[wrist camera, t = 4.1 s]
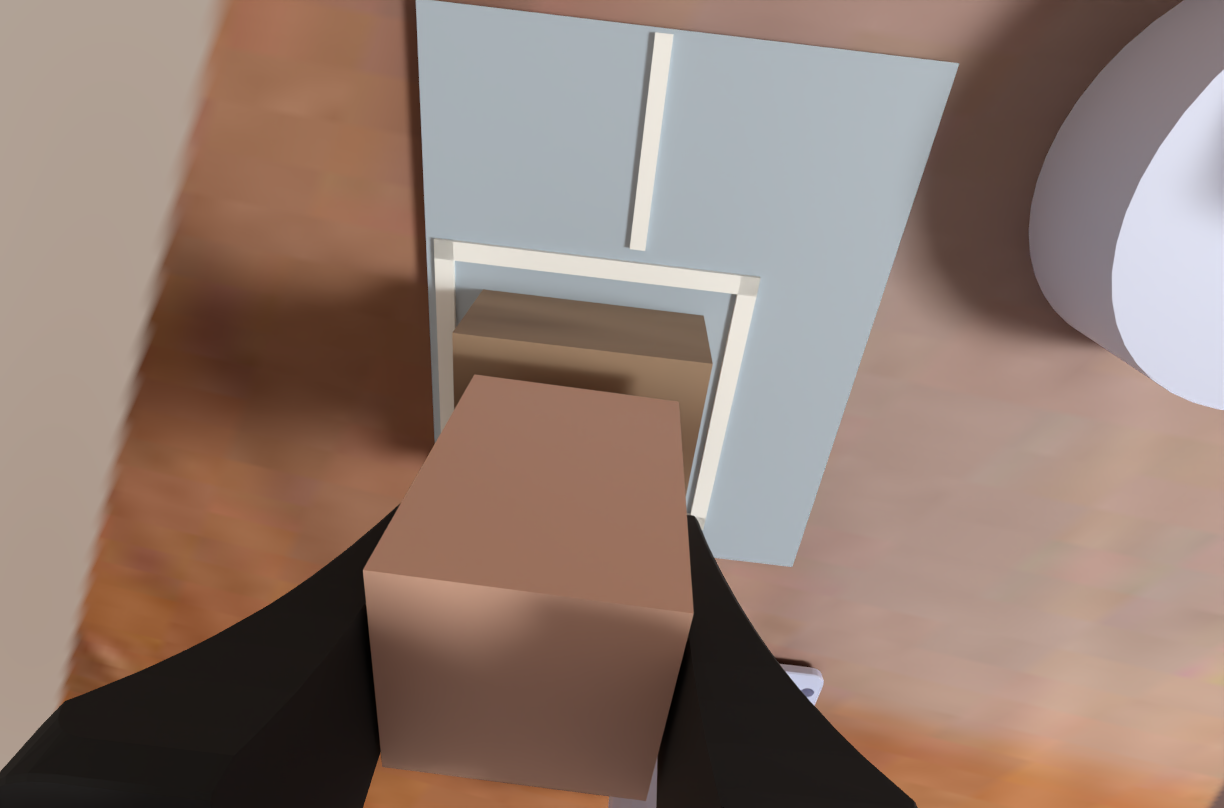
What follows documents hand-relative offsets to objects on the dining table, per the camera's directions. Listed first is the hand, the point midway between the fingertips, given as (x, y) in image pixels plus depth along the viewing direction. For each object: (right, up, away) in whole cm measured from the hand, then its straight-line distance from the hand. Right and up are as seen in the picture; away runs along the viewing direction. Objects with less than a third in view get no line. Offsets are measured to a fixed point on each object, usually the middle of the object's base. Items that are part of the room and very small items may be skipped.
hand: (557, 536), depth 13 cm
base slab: (0, +3, +5) cm, 6 cm away
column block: (0, +1, +2) cm, 2 cm away
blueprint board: (+2, +5, +5) cm, 7 cm away
